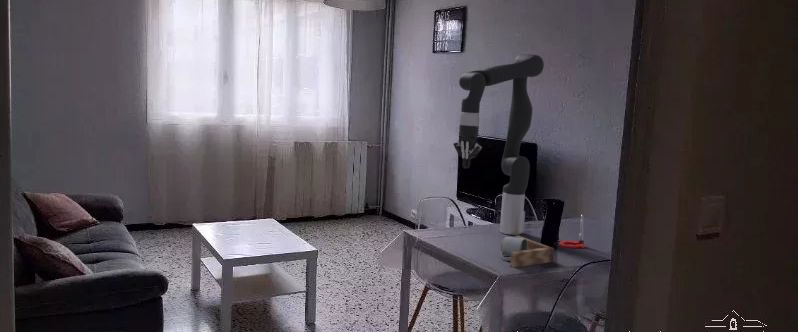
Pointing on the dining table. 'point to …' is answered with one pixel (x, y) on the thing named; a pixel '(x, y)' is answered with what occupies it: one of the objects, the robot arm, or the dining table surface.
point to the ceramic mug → (512, 246)
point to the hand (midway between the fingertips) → (466, 167)
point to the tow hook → (578, 244)
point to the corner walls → (532, 254)
